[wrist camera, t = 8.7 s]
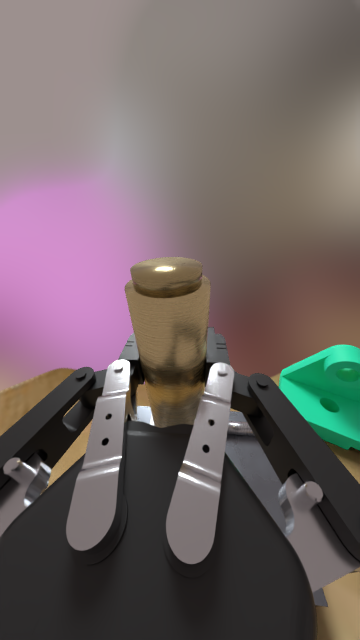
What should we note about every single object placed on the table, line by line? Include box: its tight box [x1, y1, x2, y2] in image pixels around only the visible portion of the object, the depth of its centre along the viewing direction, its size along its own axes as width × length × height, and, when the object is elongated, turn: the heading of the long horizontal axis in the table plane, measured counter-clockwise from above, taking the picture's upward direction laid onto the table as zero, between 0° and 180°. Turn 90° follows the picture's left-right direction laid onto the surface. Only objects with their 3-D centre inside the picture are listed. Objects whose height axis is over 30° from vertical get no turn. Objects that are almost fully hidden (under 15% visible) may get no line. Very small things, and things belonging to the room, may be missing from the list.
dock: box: [137, 406, 328, 607], centre depth 19 cm, size 18×14×4 cm
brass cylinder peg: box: [125, 257, 210, 428], centre depth 12 cm, size 4×4×13 cm
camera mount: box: [279, 345, 360, 450], centre depth 23 cm, size 12×8×10 cm, turn 61°
